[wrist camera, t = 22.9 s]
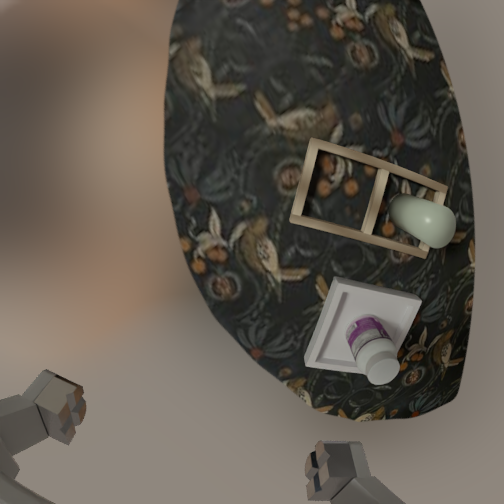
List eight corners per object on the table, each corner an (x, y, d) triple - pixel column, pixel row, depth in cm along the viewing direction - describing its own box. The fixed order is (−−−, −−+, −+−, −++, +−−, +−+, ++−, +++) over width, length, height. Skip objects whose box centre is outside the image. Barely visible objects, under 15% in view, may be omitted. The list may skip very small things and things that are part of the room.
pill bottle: (384, 333, 39) (409, 375, 30) (351, 350, 40) (370, 396, 31) (373, 305, 38) (400, 346, 29) (338, 324, 39) (356, 368, 30)
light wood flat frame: (310, 138, 33) (312, 137, 32) (443, 185, 34) (447, 186, 32) (289, 220, 36) (290, 222, 35) (421, 256, 37) (425, 258, 35)
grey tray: (334, 276, 38) (338, 282, 36) (415, 294, 38) (422, 301, 36) (304, 356, 42) (305, 366, 40) (380, 367, 42) (384, 375, 40)
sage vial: (394, 189, 34) (430, 200, 26) (421, 199, 34) (460, 213, 26) (384, 222, 35) (416, 242, 27) (412, 231, 36) (447, 252, 27)
